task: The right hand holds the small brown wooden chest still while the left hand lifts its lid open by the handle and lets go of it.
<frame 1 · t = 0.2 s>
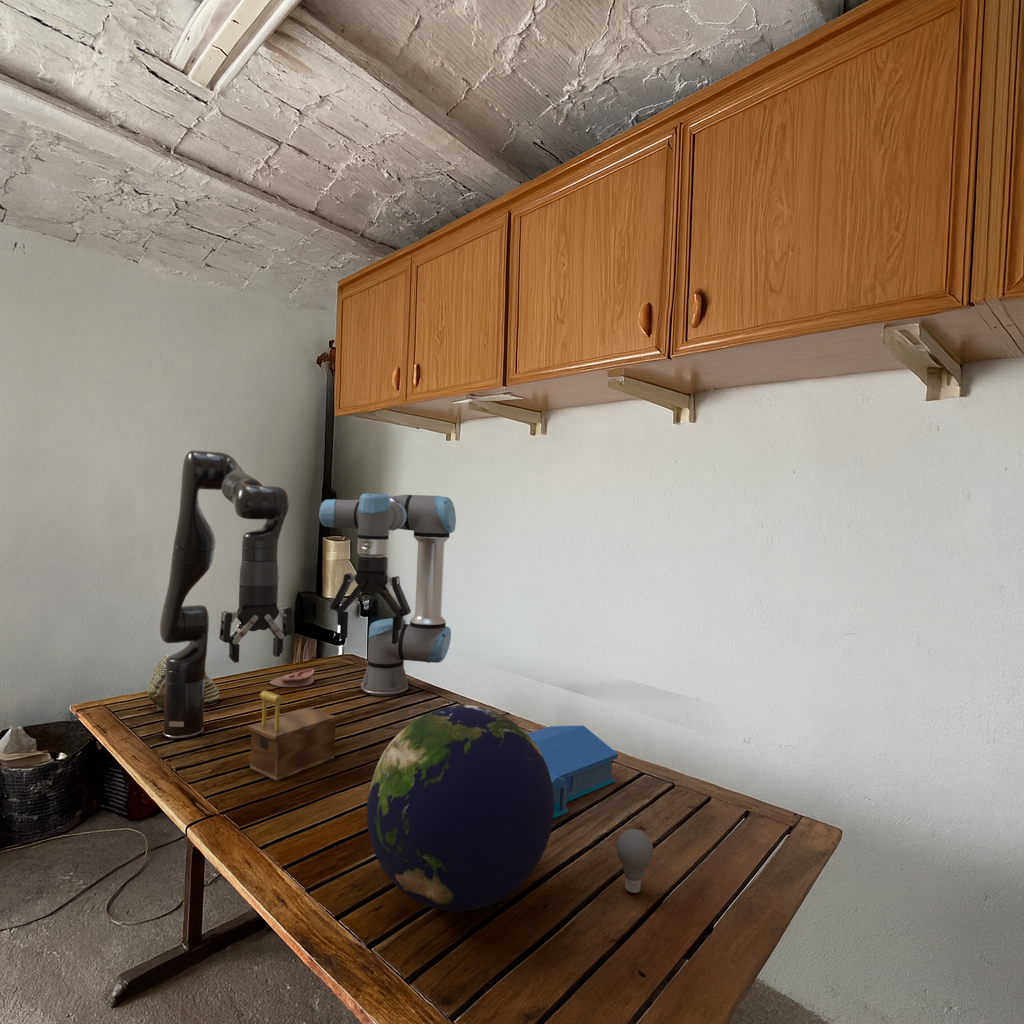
left hand: (256, 658, 132), 29 cm above the table, tool pointing down, fingers open, 8 cm apart
right hand: (369, 640, 158), 28 cm above the table, tool pointing down, fingers open, 13 cm apart
globe: (457, 895, 103), on the table
fossil: (183, 706, 185), on the table
model building: (527, 791, 141), on the table
chest: (293, 762, 150), on the table
anatomical model: (291, 683, 212), on the table
lid: (293, 706, 149), point 14 cm above the table, hinge at 0.0°
light bulb: (632, 891, 106), on the table
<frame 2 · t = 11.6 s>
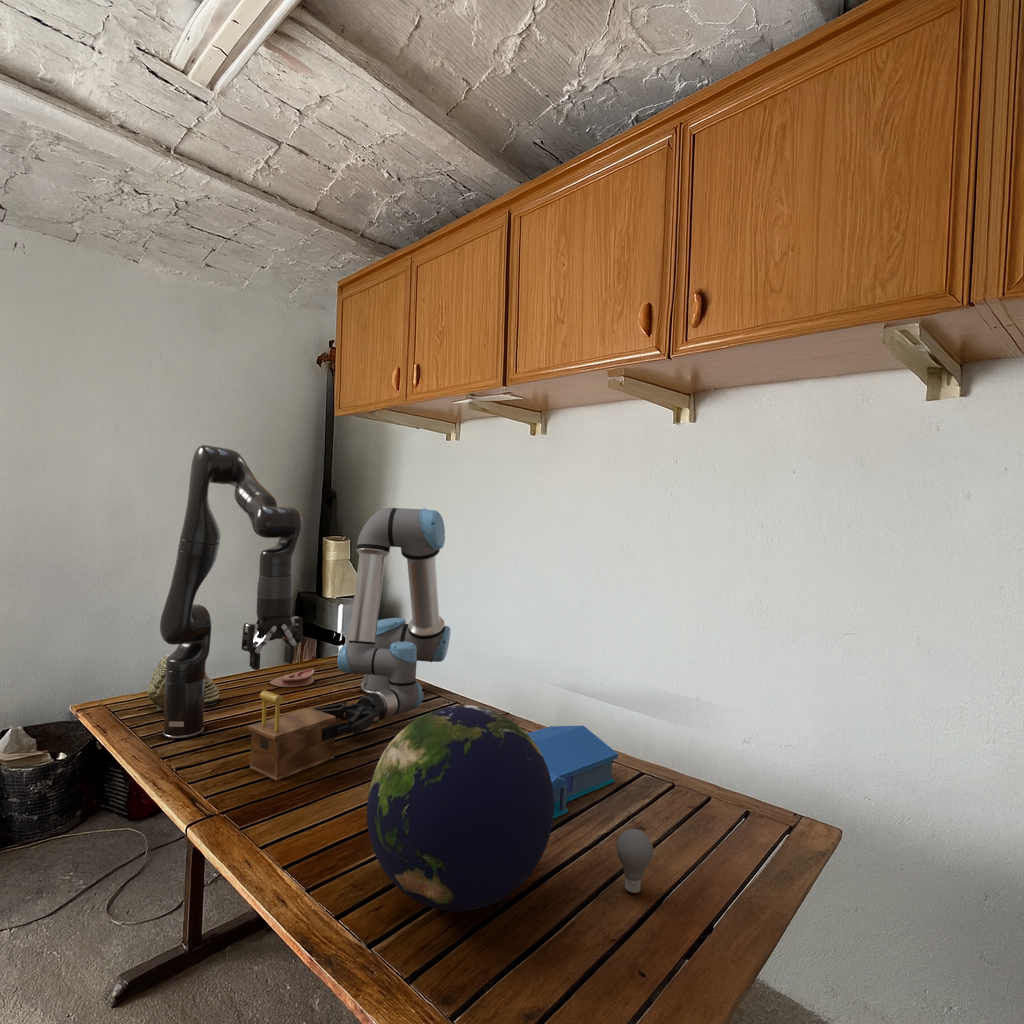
left hand: (272, 665, 144), 24 cm above the table, tool pointing down, fingers open, 8 cm apart
right hand: (308, 729, 153), 7 cm above the table, tool horizontal, fingers closed on chest, 10 cm apart
chest: (293, 762, 150), on the table, touching right hand
everything else where it was.
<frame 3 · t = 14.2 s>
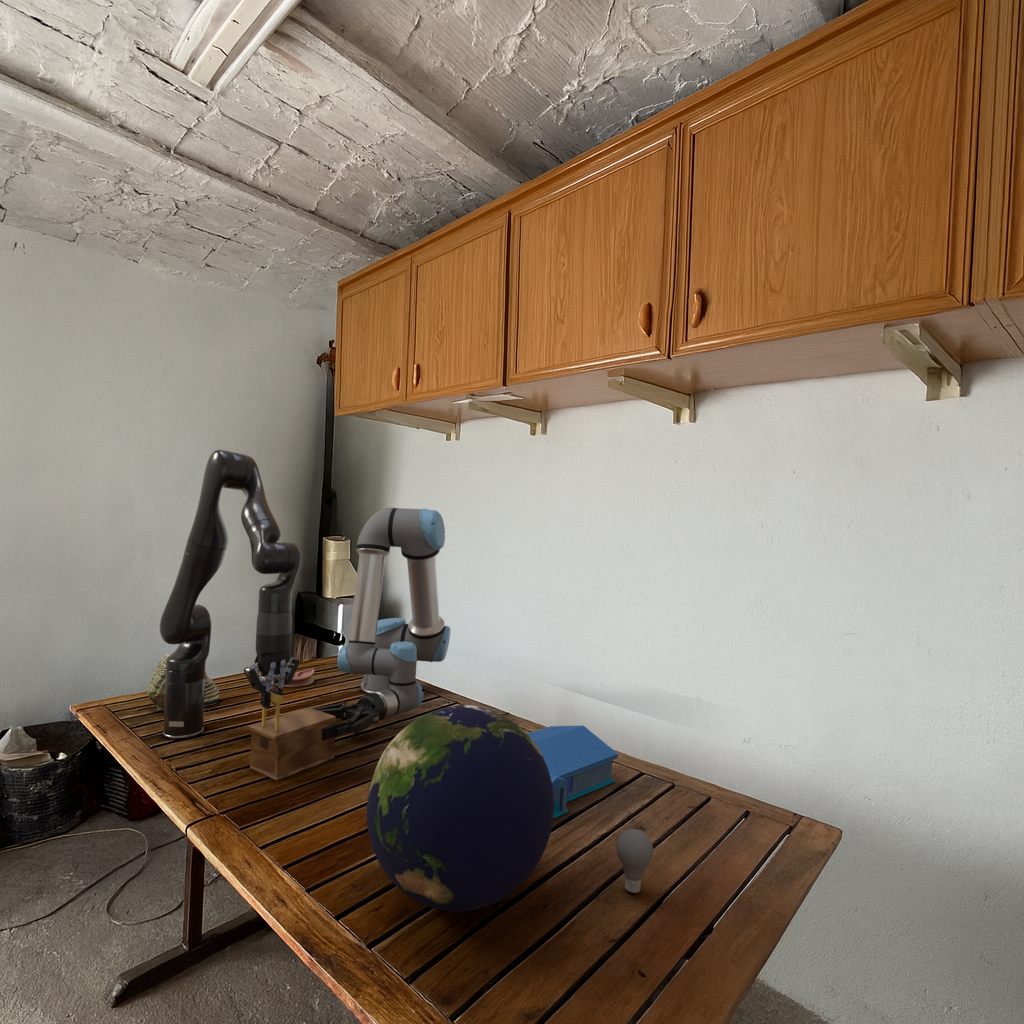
left hand: (271, 705, 144), 15 cm above the table, tool pointing down, fingers closed on lid, 2 cm apart
right hand: (308, 729, 153), 7 cm above the table, tool horizontal, fingers closed on chest, 10 cm apart
chest: (293, 762, 150), on the table, touching right hand
lid: (293, 706, 149), point 14 cm above the table, hinge at 0.0°, touching left hand
everything else where it was.
when the right hand's fingers open (7 cm above the table, at t = 22.3 s): chest stays where it is, on the table.
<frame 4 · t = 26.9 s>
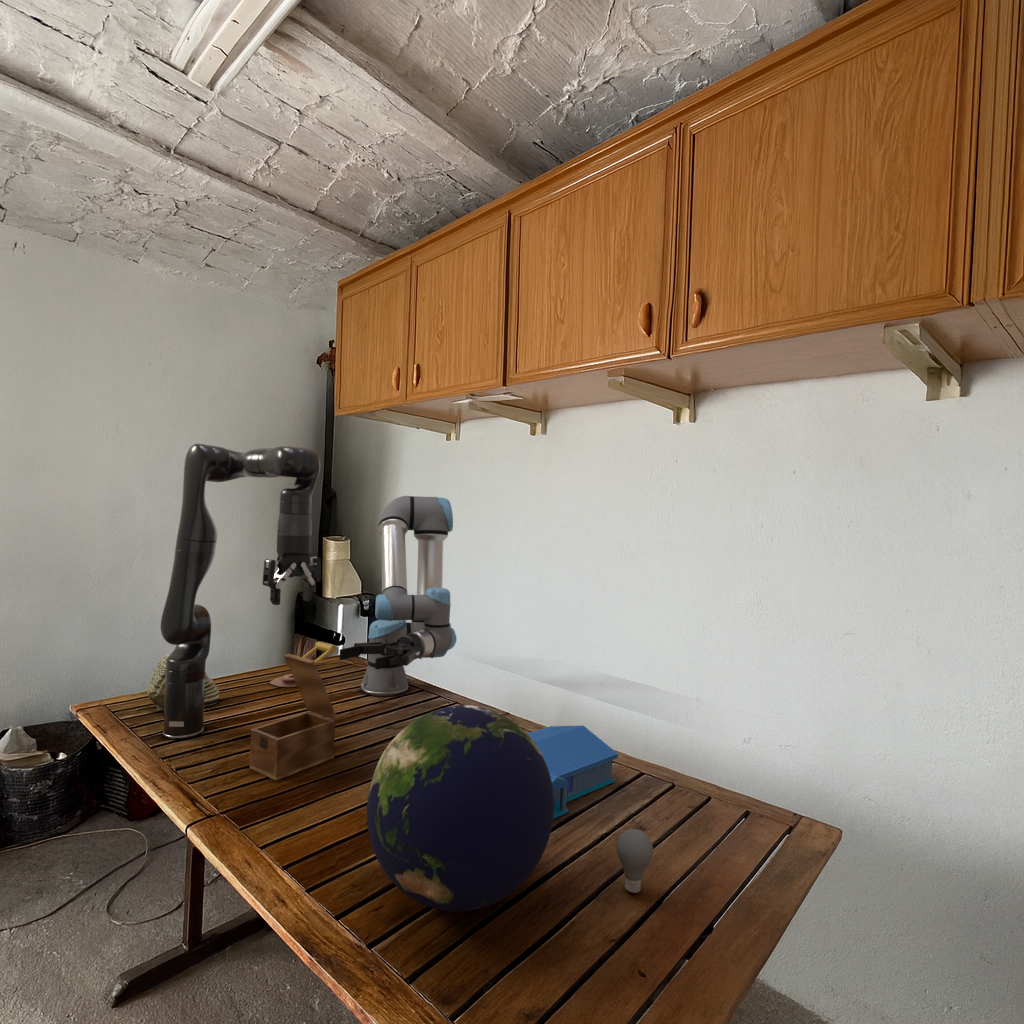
left hand: (291, 602, 147), 38 cm above the table, tool pointing down, fingers open, 8 cm apart
right hand: (357, 659, 165), 21 cm above the table, tool horizontal, fingers open, 13 cm apart
chest: (292, 762, 150), on the table
lid: (323, 676, 156), point 19 cm above the table, hinge at 64.1°
everything else where it was.
at the end: lid at +64° (first picture: +0°); the left hand is holding nothing; the right hand is holding nothing; chest tilted 0°; chest never tilted more than 1° during the clip; chest moved 0.1 cm from its start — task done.
